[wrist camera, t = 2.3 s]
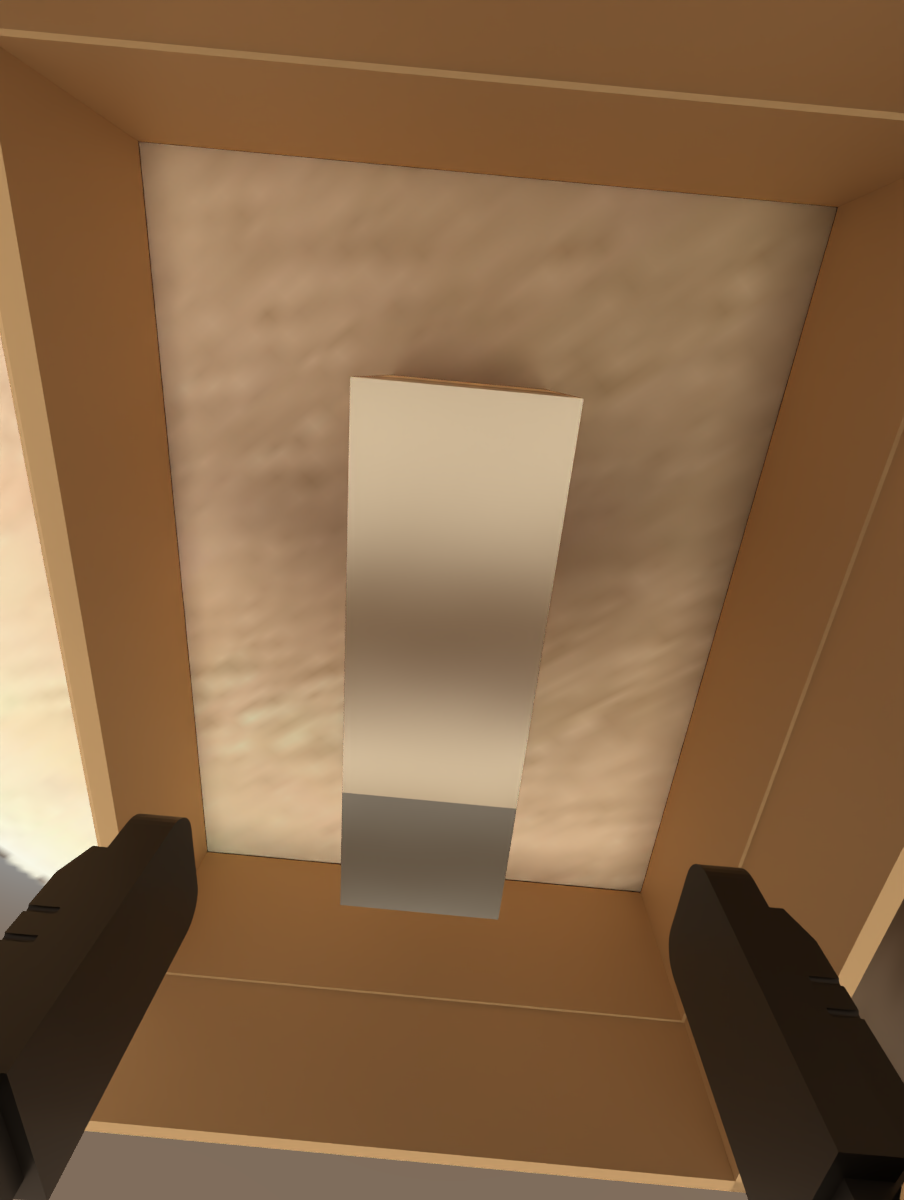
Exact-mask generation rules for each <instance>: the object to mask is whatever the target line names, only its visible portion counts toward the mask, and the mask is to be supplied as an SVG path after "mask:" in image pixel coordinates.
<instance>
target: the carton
mask: <svg viewBox="0 0 904 1200" xmlns="http://www.w3.org/2000/svg"><path fill="white" fill-rule="evenodd" d="M138 141H141V142H151V143H162V144H173V145H183V146H194V147H205V148H215V149H226V150H236V151H247V152H258V153H268V154H279V155H290V156H300V157H311V158H322V159H332V160H343V161H354V162H364V163H375V164H385V165H396V166H407V167H417V168H428V169H439V170H449V171H460V172H471V173H481V174H492V175H502V176H513V177H524V178H534V179H545V180H556V181H566V182H577V183H588V184H598V185H609V186H620V187H630V188H641V189H651V190H662V191H673V192H683V193H694V194H705V195H715V196H726V197H737V198H747V199H758V200H768V201H779V202H790V203H800V204H811V205H822V206H832V207H838V209H837V213H836V216H835V220H834V223H833V227H832V230H831V234H830V237H829V241H828V244H827V247H826V251H825V254H824V258H823V261H822V265H821V268H820V272H819V275H818V279H817V282H816V286H815V289H814V293H813V296H812V300H811V303H810V307H809V310H808V313H807V317H806V320H805V324H804V327H803V331H802V334H801V338H800V341H799V345H798V348H797V352H796V355H795V359H794V362H793V366H792V369H791V373H790V376H789V379H788V383H787V386H786V390H785V393H784V397H783V400H782V404H781V407H780V411H779V414H778V418H777V421H776V425H775V428H774V432H773V435H772V439H771V442H770V445H769V449H768V452H767V456H766V459H765V463H764V466H763V470H762V473H761V477H760V480H759V484H758V487H757V491H756V494H755V498H754V501H753V505H752V508H751V511H750V515H749V518H748V522H747V525H746V529H745V532H744V536H743V539H742V543H741V546H740V550H739V553H738V557H737V560H736V564H735V567H734V571H733V574H732V578H731V581H730V584H729V588H728V591H727V595H726V598H725V602H724V605H723V609H722V612H721V616H720V619H719V623H718V626H717V630H716V633H715V637H714V640H713V644H712V647H711V650H710V654H709V657H708V661H707V664H706V668H705V671H704V675H703V678H702V682H701V685H700V689H699V692H698V696H697V699H696V703H695V706H694V710H693V713H692V716H691V720H690V723H689V727H688V730H687V734H686V737H685V741H684V744H683V748H682V751H681V755H680V758H679V762H678V765H677V769H676V772H675V776H674V779H673V782H672V786H671V789H670V793H669V796H668V800H667V803H666V807H665V810H664V814H663V817H662V821H661V824H660V828H659V831H658V835H657V838H656V842H655V845H654V848H653V852H652V855H651V859H650V862H649V866H648V869H647V873H646V876H645V880H644V883H643V887H642V890H641V893H638V892H628V891H617V890H606V889H596V888H585V887H574V886H564V885H553V884H542V883H532V882H521V881H510V880H505V882H504V888H503V894H502V900H501V906H500V912H499V918H498V920H496V919H485V918H475V917H464V916H453V915H442V914H432V913H421V912H410V911H400V910H389V909H378V908H368V907H357V906H346V905H340V894H341V865H340V864H329V863H319V862H308V861H297V860H287V859H276V858H265V857H255V856H244V855H233V854H223V853H212V852H207V844H206V834H205V823H204V813H203V803H202V793H201V782H200V772H199V762H198V752H197V741H196V731H195V721H194V710H193V700H192V690H191V680H190V669H189V659H188V649H187V638H186V628H185V618H184V608H183V597H182V587H181V577H180V567H179V556H178V546H177V536H176V525H175V515H174V505H173V495H172V484H171V474H170V464H169V453H168V443H167V433H166V423H165V412H164V402H163V392H162V382H161V371H160V361H159V351H158V340H157V330H156V320H155V310H154V299H153V289H152V279H151V268H150V258H149V248H148V238H147V227H146V217H145V207H144V197H143V186H142V176H141V166H140V155H139V145H138ZM0 335H1V340H2V345H3V350H4V356H5V361H6V366H7V371H8V376H9V382H10V387H11V392H12V397H13V403H14V408H15V413H16V418H17V424H18V429H19V434H20V439H21V445H22V450H23V455H24V460H25V466H26V471H27V476H28V481H29V487H30V492H31V497H32V502H33V508H34V513H35V518H36V523H37V528H38V534H39V539H40V544H41V549H42V555H43V560H44V565H45V570H46V576H47V581H48V586H49V591H50V597H51V602H52V607H53V612H54V618H55V623H56V628H57V633H58V639H59V644H60V649H61V654H62V660H63V665H64V670H65V675H66V681H67V686H68V691H69V696H70V701H71V707H72V712H73V717H74V722H75V728H76V733H77V738H78V743H79V749H80V754H81V759H82V764H83V770H84V775H85V780H86V785H87V791H88V796H89V801H90V806H91V812H92V817H93V822H94V827H95V833H96V838H97V843H98V846H99V847H108V846H109V845H110V844H111V842H112V841H113V840H114V838H115V837H116V836H117V835H118V833H119V832H120V831H121V830H122V828H123V827H124V826H125V824H126V823H127V822H128V821H129V820H130V819H131V818H132V817H133V816H135V815H136V814H151V815H163V816H174V817H185V818H187V819H189V821H190V824H191V828H192V837H193V847H194V856H195V865H196V875H197V884H198V896H197V903H196V908H195V912H194V916H193V919H192V922H191V925H190V927H189V930H188V932H187V934H186V936H185V938H184V940H183V942H182V943H181V945H180V947H179V949H178V951H177V953H176V955H175V957H174V959H173V961H172V963H171V965H170V967H169V969H168V970H167V972H166V974H165V976H164V978H163V980H162V982H161V984H160V986H159V988H158V990H157V992H156V994H155V996H154V997H153V999H152V1001H151V1003H150V1005H149V1007H148V1009H147V1011H146V1013H145V1015H144V1017H143V1019H142V1021H141V1023H140V1024H139V1026H138V1028H137V1030H136V1032H135V1034H134V1036H133V1038H132V1040H131V1042H130V1044H129V1046H128V1048H127V1050H126V1051H125V1053H124V1055H123V1057H122V1059H121V1061H120V1063H119V1065H118V1067H117V1069H116V1071H115V1073H114V1075H113V1077H112V1078H111V1080H110V1082H109V1084H108V1086H107V1088H106V1090H105V1092H104V1094H103V1096H102V1098H101V1100H100V1102H99V1104H98V1106H97V1107H96V1109H95V1111H94V1113H93V1115H92V1117H91V1119H90V1121H89V1123H88V1125H87V1127H86V1129H85V1131H93V1132H104V1133H114V1134H125V1135H135V1136H146V1137H157V1138H167V1139H179V1140H189V1141H200V1142H210V1143H221V1144H231V1145H244V1146H253V1147H263V1148H274V1149H285V1150H295V1151H306V1152H318V1153H327V1154H338V1155H349V1156H360V1157H370V1158H382V1159H391V1160H402V1161H413V1162H423V1163H434V1164H445V1165H455V1166H466V1167H477V1168H488V1169H498V1170H508V1171H519V1172H530V1173H540V1174H551V1175H562V1176H573V1177H583V1178H594V1179H604V1180H616V1181H626V1182H637V1183H647V1184H658V1185H668V1186H679V1187H690V1188H701V1189H711V1190H722V1191H733V1192H743V1193H746V1191H745V1188H744V1185H743V1183H742V1180H741V1177H740V1174H739V1171H738V1168H737V1165H736V1162H735V1159H734V1156H733V1153H732V1150H731V1147H730V1144H729V1141H728V1138H727V1135H726V1132H725V1129H724V1126H723V1123H722V1120H721V1117H720V1114H719V1111H718V1108H717V1105H716V1103H715V1100H714V1097H713V1094H712V1091H711V1088H710V1085H709V1082H708V1079H707V1076H706V1073H705V1070H704V1067H703V1064H702V1061H701V1058H700V1055H699V1052H698V1049H697V1046H696V1043H695V1040H694V1037H693V1034H692V1031H691V1028H690V1025H689V1023H688V1020H687V1017H686V1014H685V1011H684V1008H683V1005H682V1002H681V999H680V996H679V993H678V990H677V987H676V984H675V981H674V978H673V975H672V970H671V966H670V959H669V934H670V929H671V926H672V923H673V919H674V916H675V913H676V909H677V906H678V903H679V899H680V896H681V893H682V889H683V886H684V883H685V879H686V876H687V873H688V870H689V868H690V867H691V866H692V865H693V864H702V865H714V866H725V867H736V868H743V869H745V870H746V871H748V872H749V874H750V875H751V876H752V878H753V879H754V881H755V883H756V885H757V886H758V888H759V890H760V892H761V894H762V895H763V897H764V899H765V901H766V902H767V904H768V906H769V907H772V908H783V909H784V910H785V911H786V912H787V913H788V914H789V915H790V916H791V917H792V918H793V919H794V920H795V921H797V922H798V923H799V924H800V925H801V926H802V927H803V928H804V929H805V930H806V931H807V932H808V933H809V934H810V935H811V936H812V937H813V938H814V939H815V940H816V941H817V943H818V945H819V946H820V948H821V950H822V951H823V953H824V954H825V956H826V958H827V959H828V961H829V963H830V964H831V966H832V967H833V969H834V971H835V972H836V974H837V976H838V977H839V983H840V985H841V986H844V987H845V989H846V990H847V992H848V993H849V995H850V997H851V998H852V996H853V994H854V992H855V990H856V988H857V986H858V984H859V983H860V981H861V979H862V977H863V975H864V973H865V971H866V969H867V967H868V965H869V964H870V962H871V960H872V958H873V956H874V954H875V952H876V950H877V948H878V946H879V945H880V943H881V941H882V939H883V937H884V935H885V933H886V931H887V929H888V927H889V926H890V924H891V922H892V920H893V918H894V916H895V914H896V912H897V910H898V908H899V907H900V905H901V903H902V901H903V899H904V0H0Z"/></svg>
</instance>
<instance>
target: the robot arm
mask: <svg viewBox="0 0 904 1200" xmlns="http://www.w3.org/2000/svg"><path fill="white" fill-rule="evenodd" d="M197 896H198V884H197V875H196V865H195V856H194V847H193V837H192V828H191V824H190V821H189V819H187V818H185V817H174V816H163V815H151V814H136V815H135V816H133V817H132V818H131V819H130V820H129V821H128V822H127V823H126V824H125V826H124V827H123V828H122V830H121V831H120V832H119V833H118V835H117V836H116V837H115V838H114V840H113V841H112V842H111V844H110V845H109V846H108V847H99V846H92V847H91V848H89V849H88V850H86V851H85V852H84V853H82V854H81V855H79V856H78V857H77V858H75V859H74V860H72V861H71V862H70V863H68V864H67V865H65V866H64V867H63V868H61V869H60V870H58V871H57V872H56V873H55V874H54V875H53V876H52V878H51V879H50V880H49V881H48V882H47V883H46V885H45V886H44V887H43V888H42V889H41V891H40V892H39V893H38V894H37V895H36V896H35V898H34V899H33V900H32V901H31V902H30V903H29V907H28V909H27V911H23V912H22V913H21V914H20V915H19V916H18V918H17V919H16V920H15V921H14V922H13V924H12V925H11V926H10V927H9V928H8V929H7V931H6V932H5V936H4V938H3V939H2V940H0V1200H13V1199H21V1200H49V1198H50V1196H51V1194H52V1192H53V1190H54V1188H55V1187H56V1184H57V1183H58V1181H59V1179H60V1177H61V1175H62V1173H63V1171H64V1169H65V1167H66V1165H67V1163H68V1161H69V1159H70V1158H71V1156H72V1154H73V1152H74V1150H75V1148H76V1146H77V1144H78V1142H79V1140H80V1138H81V1136H82V1134H83V1133H84V1131H85V1129H86V1127H87V1125H88V1123H89V1121H90V1119H91V1117H92V1115H93V1113H94V1111H95V1109H96V1107H97V1106H98V1104H99V1102H100V1100H101V1098H102V1096H103V1094H104V1092H105V1090H106V1088H107V1086H108V1084H109V1082H110V1080H111V1078H112V1077H113V1075H114V1073H115V1071H116V1069H117V1067H118V1065H119V1063H120V1061H121V1059H122V1057H123V1055H124V1053H125V1051H126V1050H127V1048H128V1046H129V1044H130V1042H131V1040H132V1038H133V1036H134V1034H135V1032H136V1030H137V1028H138V1026H139V1024H140V1023H141V1021H142V1019H143V1017H144V1015H145V1013H146V1011H147V1009H148V1007H149V1005H150V1003H151V1001H152V999H153V997H154V996H155V994H156V992H157V990H158V988H159V986H160V984H161V982H162V980H163V978H164V976H165V974H166V972H167V970H168V969H169V967H170V965H171V963H172V961H173V959H174V957H175V955H176V953H177V951H178V949H179V947H180V945H181V943H182V942H183V940H184V938H185V936H186V934H187V932H188V930H189V927H190V925H191V922H192V919H193V916H194V912H195V908H196V903H197ZM669 959H670V966H671V970H672V975H673V978H674V981H675V984H676V987H677V990H678V993H679V996H680V999H681V1002H682V1005H683V1008H684V1011H685V1014H686V1017H687V1020H688V1023H689V1025H690V1028H691V1031H692V1034H693V1037H694V1040H695V1043H696V1046H697V1049H698V1052H699V1055H700V1058H701V1061H702V1064H703V1067H704V1070H705V1073H706V1076H707V1079H708V1082H709V1085H710V1088H711V1091H712V1094H713V1097H714V1100H715V1103H716V1105H717V1108H718V1111H719V1114H720V1117H721V1120H722V1123H723V1126H724V1129H725V1132H726V1135H727V1138H728V1141H729V1144H730V1147H731V1150H732V1153H733V1156H734V1159H735V1162H736V1165H737V1168H738V1171H739V1174H740V1177H741V1180H742V1183H743V1185H744V1188H745V1191H746V1194H747V1197H748V1200H904V1083H903V1081H902V1080H901V1078H900V1076H899V1075H898V1073H897V1071H896V1070H895V1068H894V1067H893V1065H892V1063H891V1062H890V1060H889V1058H888V1057H887V1055H886V1054H885V1052H884V1050H883V1049H882V1047H881V1045H880V1044H879V1042H878V1041H877V1039H876V1037H875V1036H874V1034H873V1032H872V1031H871V1029H870V1028H869V1026H868V1024H867V1023H866V1021H865V1019H861V1018H860V1016H859V1010H858V1008H857V1006H856V1005H855V1003H854V1002H853V1000H852V998H851V997H850V995H849V993H848V992H847V990H846V989H845V987H844V986H841V985H840V983H839V977H838V976H837V974H836V972H835V971H834V969H833V967H832V966H831V964H830V963H829V961H828V959H827V958H826V956H825V954H824V953H823V951H822V950H821V948H820V946H819V945H818V943H817V941H816V940H815V939H814V938H813V937H812V936H811V935H810V934H809V933H808V932H807V931H806V930H805V929H804V928H803V927H802V926H801V925H800V924H799V923H798V922H797V921H795V920H794V919H793V918H792V917H791V916H790V915H789V914H788V913H787V912H786V911H785V910H784V909H783V908H772V907H769V906H768V904H767V902H766V901H765V899H764V897H763V895H762V894H761V892H760V890H759V888H758V886H757V885H756V883H755V881H754V879H753V878H752V876H751V875H750V874H749V872H748V871H746V870H745V869H743V868H736V867H725V866H714V865H702V864H693V865H692V866H691V867H690V868H689V870H688V873H687V876H686V879H685V883H684V886H683V889H682V893H681V896H680V899H679V903H678V906H677V909H676V913H675V916H674V919H673V923H672V926H671V929H670V934H669Z"/></svg>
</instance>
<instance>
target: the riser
mask: <svg viewBox="0 0 904 1200" xmlns="http://www.w3.org/2000/svg"><path fill="white" fill-rule="evenodd" d="M852 1000H853V1002H854V1003H855V1005H856V1006H857V1008H858V1010H859V1016H860V1018H861V1019H865V1021H866V1023H867V1024H868V1026H869V1028H870V1029H871V1031H872V1032H873V1034H874V1036H875V1037H876V1039H877V1041H878V1042H879V1044H880V1045H881V1047H882V1049H883V1050H884V1052H885V1054H886V1055H887V1057H888V1058H889V1060H890V1062H891V1063H892V1065H893V1067H894V1068H895V1070H896V1071H897V1073H898V1075H899V1076H900V1078H901V1080H902V1081H903V1083H904V899H903V901H902V903H901V905H900V907H899V908H898V910H897V912H896V914H895V916H894V918H893V920H892V922H891V924H890V926H889V927H888V929H887V931H886V933H885V935H884V937H883V939H882V941H881V943H880V945H879V946H878V948H877V950H876V952H875V954H874V956H873V958H872V960H871V962H870V964H869V965H868V967H867V969H866V971H865V973H864V975H863V977H862V979H861V981H860V983H859V984H858V986H857V988H856V990H855V992H854V994H853V996H852Z"/></svg>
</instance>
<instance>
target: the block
mask: <svg viewBox="0 0 904 1200" xmlns="http://www.w3.org/2000/svg"><path fill="white" fill-rule="evenodd" d="M583 400H584V399H583V398H579V397H575V396H571V395H566V394H562V393H558V392H554V391H550V390H545V389H534V388H524V387H513V386H502V385H492V384H481V383H471V382H460V381H449V380H439V379H428V378H417V377H407V376H396V375H382V376H357V377H350V414H349V468H348V521H347V574H346V627H345V681H344V734H343V787H342V841H341V894H340V905H346V906H357V907H368V908H378V909H389V910H400V911H410V912H421V913H432V914H442V915H453V916H464V917H475V918H485V919H496V920H498V918H499V912H500V906H501V900H502V894H503V888H504V882H505V876H506V870H507V863H508V857H509V851H510V845H511V839H512V833H513V827H514V821H515V815H516V809H517V802H518V796H519V790H520V784H521V778H522V772H523V766H524V760H525V754H526V748H527V741H528V735H529V729H530V723H531V717H532V711H533V705H534V699H535V693H536V687H537V680H538V674H539V668H540V662H541V656H542V650H543V644H544V638H545V632H546V626H547V619H548V613H549V607H550V601H551V595H552V589H553V583H554V577H555V571H556V565H557V558H558V552H559V546H560V540H561V534H562V528H563V522H564V516H565V510H566V504H567V497H568V491H569V485H570V479H571V473H572V467H573V461H574V455H575V449H576V443H577V436H578V430H579V424H580V418H581V412H582V406H583Z"/></svg>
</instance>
